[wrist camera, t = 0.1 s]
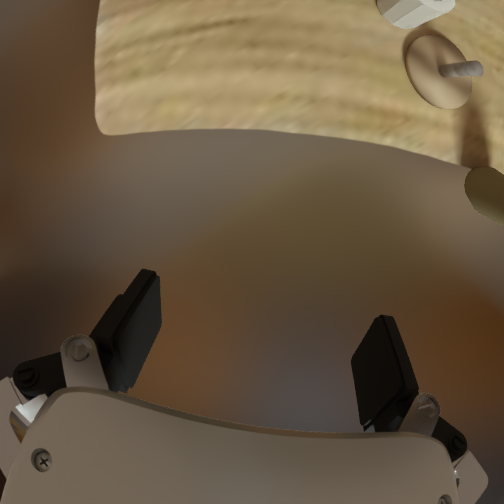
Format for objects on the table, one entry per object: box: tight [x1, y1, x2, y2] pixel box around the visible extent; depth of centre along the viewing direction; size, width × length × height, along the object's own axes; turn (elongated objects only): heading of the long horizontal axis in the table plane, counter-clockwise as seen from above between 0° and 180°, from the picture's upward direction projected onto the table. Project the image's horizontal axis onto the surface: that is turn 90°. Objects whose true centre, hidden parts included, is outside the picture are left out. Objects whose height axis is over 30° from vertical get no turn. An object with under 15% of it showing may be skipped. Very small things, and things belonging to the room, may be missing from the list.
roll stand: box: [405, 35, 483, 109], centre depth 23 cm, size 12×12×10 cm
